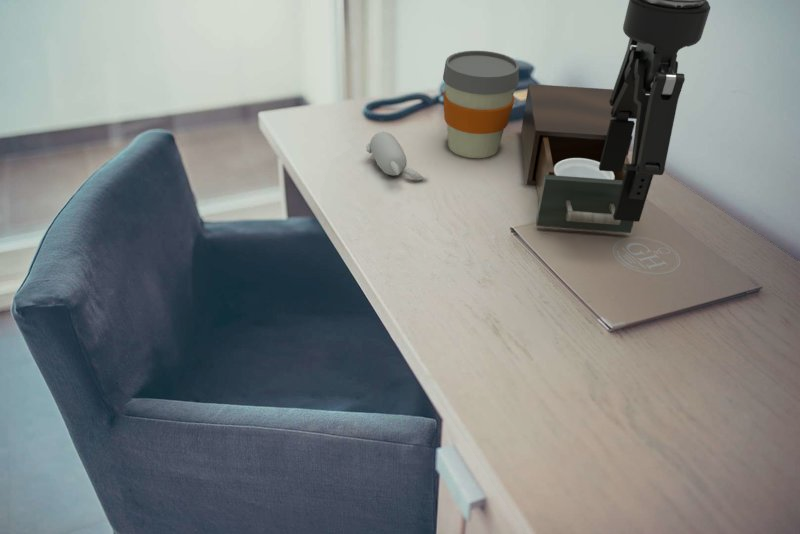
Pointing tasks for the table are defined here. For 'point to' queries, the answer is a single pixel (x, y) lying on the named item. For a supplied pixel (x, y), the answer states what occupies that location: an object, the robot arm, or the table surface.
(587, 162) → the ramekin
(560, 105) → the cabinet
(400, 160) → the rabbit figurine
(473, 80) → the reusable coffee cup
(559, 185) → the drawer
